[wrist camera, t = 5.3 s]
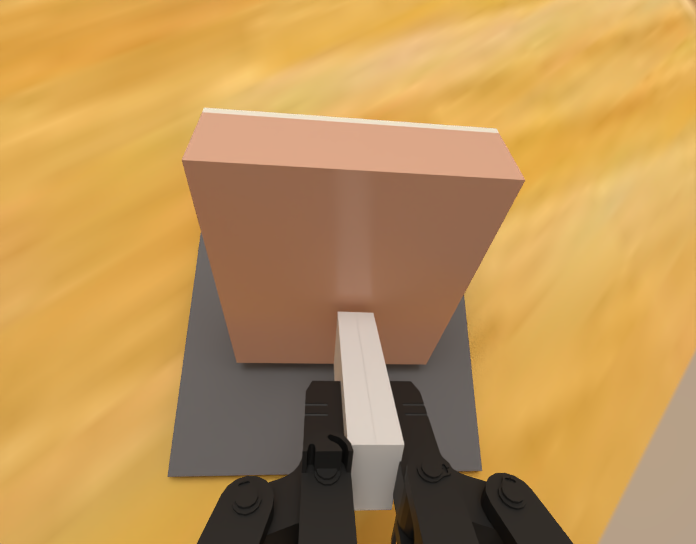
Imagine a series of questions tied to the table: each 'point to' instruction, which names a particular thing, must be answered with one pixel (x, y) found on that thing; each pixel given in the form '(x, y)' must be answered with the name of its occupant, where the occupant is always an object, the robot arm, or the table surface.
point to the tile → (343, 226)
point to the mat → (294, 397)
